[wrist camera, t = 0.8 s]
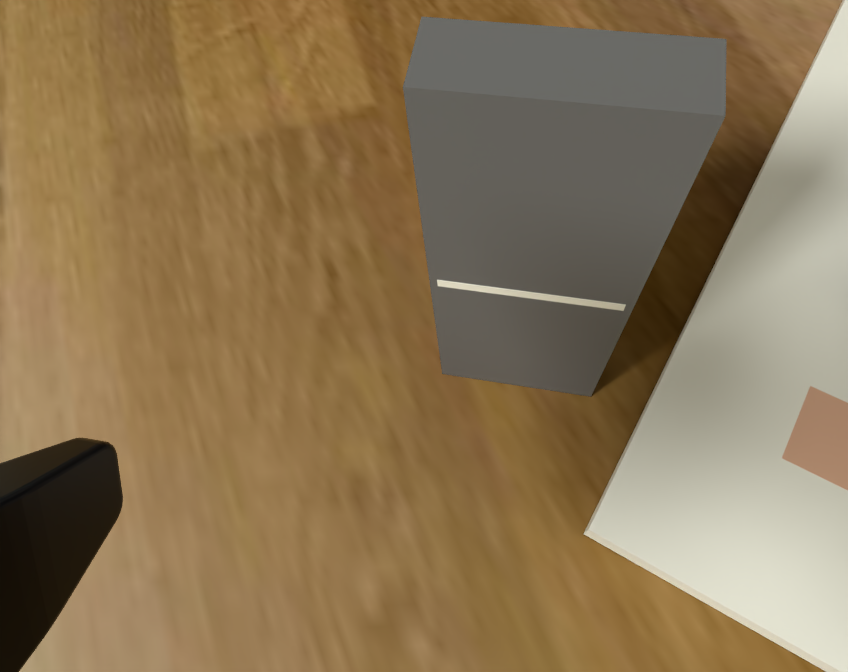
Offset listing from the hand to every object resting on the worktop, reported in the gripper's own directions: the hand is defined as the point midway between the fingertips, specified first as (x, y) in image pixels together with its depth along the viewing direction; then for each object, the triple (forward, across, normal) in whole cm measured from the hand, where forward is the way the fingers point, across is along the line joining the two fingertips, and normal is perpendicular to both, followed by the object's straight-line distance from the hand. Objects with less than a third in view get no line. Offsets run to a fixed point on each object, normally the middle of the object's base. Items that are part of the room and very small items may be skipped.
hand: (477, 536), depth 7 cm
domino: (+15, 0, +5) cm, 15 cm away
